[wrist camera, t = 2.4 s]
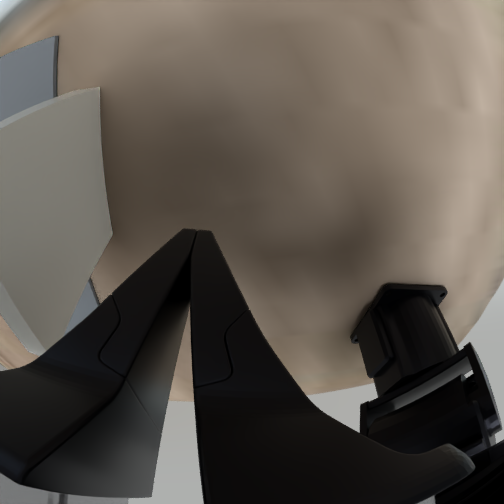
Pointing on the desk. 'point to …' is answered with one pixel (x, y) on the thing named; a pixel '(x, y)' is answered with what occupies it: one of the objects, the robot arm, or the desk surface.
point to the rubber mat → (27, 95)
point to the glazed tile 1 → (50, 213)
